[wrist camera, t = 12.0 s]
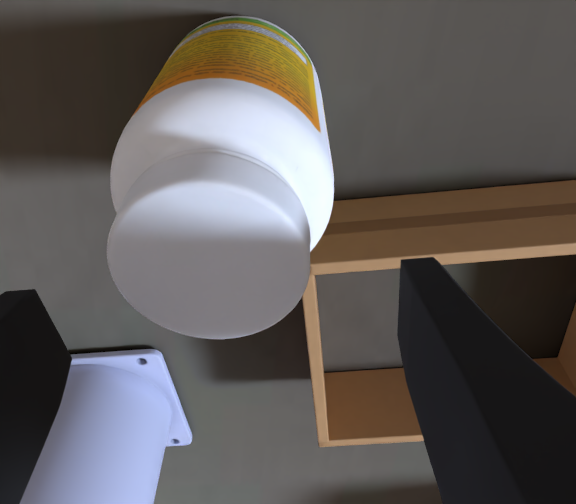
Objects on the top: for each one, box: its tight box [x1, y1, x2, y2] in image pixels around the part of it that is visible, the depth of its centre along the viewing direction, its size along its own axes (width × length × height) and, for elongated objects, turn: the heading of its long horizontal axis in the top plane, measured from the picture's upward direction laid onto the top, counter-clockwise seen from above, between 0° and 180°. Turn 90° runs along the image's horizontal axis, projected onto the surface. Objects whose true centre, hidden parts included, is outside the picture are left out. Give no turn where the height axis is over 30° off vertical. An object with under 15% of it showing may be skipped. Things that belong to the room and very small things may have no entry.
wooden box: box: [302, 180, 576, 447], centre depth 21 cm, size 13×11×4 cm
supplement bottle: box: [107, 16, 334, 339], centre depth 14 cm, size 5×5×10 cm
